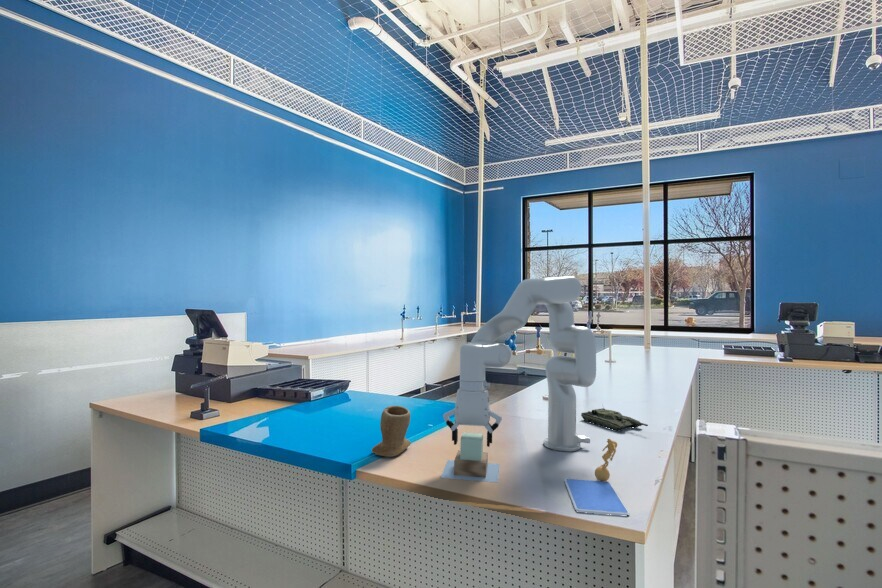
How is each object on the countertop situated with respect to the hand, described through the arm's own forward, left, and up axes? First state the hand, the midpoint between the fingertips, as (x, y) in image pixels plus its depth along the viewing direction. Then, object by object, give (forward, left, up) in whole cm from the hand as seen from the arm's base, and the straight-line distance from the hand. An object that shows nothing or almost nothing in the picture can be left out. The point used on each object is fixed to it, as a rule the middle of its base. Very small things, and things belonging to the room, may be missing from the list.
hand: (472, 444), depth 126 cm
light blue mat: (0, 0, -8) cm, 8 cm away
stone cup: (+27, -13, -9) cm, 31 cm away
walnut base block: (0, 0, -8) cm, 8 cm away
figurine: (-38, -2, -9) cm, 39 cm away
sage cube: (0, 0, -4) cm, 4 cm away
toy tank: (-54, -61, -9) cm, 82 cm away
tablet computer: (-33, +9, -9) cm, 35 cm away
